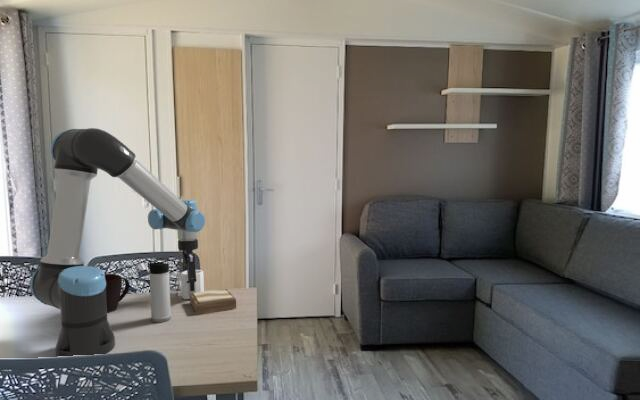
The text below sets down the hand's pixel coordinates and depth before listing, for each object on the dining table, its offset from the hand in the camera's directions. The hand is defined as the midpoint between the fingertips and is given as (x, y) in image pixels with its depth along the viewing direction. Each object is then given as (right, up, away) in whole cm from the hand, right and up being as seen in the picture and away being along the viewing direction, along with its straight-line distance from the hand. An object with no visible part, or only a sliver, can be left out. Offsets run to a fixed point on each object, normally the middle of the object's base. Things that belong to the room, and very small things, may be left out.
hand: (189, 294), depth 174 cm
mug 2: (-1, -1, +1) cm, 1 cm away
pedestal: (+12, -2, -11) cm, 16 cm away
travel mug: (-3, -3, -24) cm, 25 cm away
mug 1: (-25, -2, -14) cm, 28 cm away
